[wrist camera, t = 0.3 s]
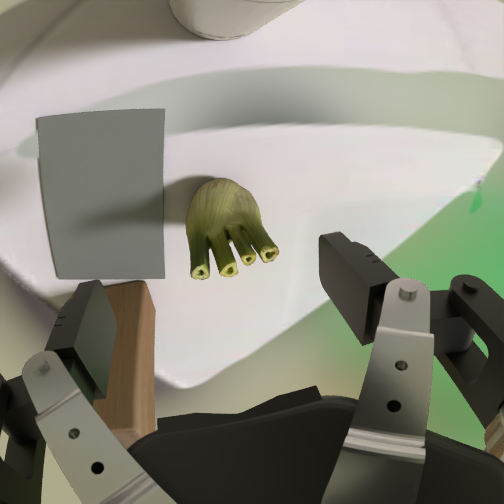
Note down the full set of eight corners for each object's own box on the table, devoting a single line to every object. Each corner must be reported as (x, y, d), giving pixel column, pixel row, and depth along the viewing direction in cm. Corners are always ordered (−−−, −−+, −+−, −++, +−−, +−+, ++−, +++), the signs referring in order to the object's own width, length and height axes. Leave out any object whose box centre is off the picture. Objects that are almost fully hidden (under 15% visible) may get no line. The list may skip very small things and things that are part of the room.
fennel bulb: (182, 216, 31) (186, 290, 21) (193, 167, 29) (201, 220, 18) (240, 225, 33) (270, 299, 22) (253, 179, 30) (293, 236, 20)
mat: (39, 117, 23) (37, 117, 22) (165, 108, 25) (164, 108, 25) (59, 277, 31) (58, 279, 30) (165, 276, 33) (164, 278, 33)
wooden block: (86, 322, 34) (60, 459, 19) (71, 292, 32) (30, 432, 17) (156, 310, 35) (158, 457, 20) (145, 278, 33) (136, 430, 18)
